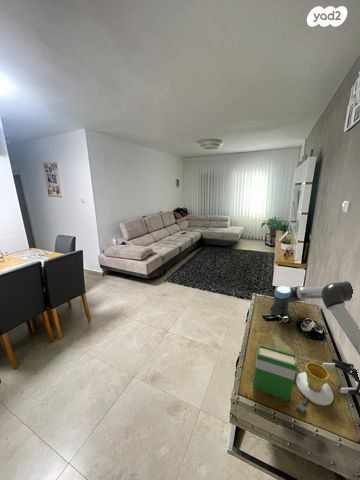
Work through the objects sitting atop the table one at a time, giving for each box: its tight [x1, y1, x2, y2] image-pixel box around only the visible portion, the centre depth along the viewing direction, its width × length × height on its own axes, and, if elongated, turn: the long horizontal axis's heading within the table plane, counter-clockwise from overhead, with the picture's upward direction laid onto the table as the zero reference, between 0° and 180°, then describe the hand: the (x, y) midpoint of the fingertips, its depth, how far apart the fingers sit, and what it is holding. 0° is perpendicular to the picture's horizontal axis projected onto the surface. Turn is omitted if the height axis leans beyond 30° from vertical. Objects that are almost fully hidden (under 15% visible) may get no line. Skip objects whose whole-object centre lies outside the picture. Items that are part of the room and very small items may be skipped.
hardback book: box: [252, 343, 298, 402], centre depth 105 cm, size 18×7×24 cm, turn 67°
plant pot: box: [304, 361, 330, 390], centre depth 107 cm, size 10×10×10 cm
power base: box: [295, 371, 334, 415], centre depth 105 cm, size 26×17×2 cm, turn 128°
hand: (331, 377), depth 105 cm, fingers open, 13 cm apart
